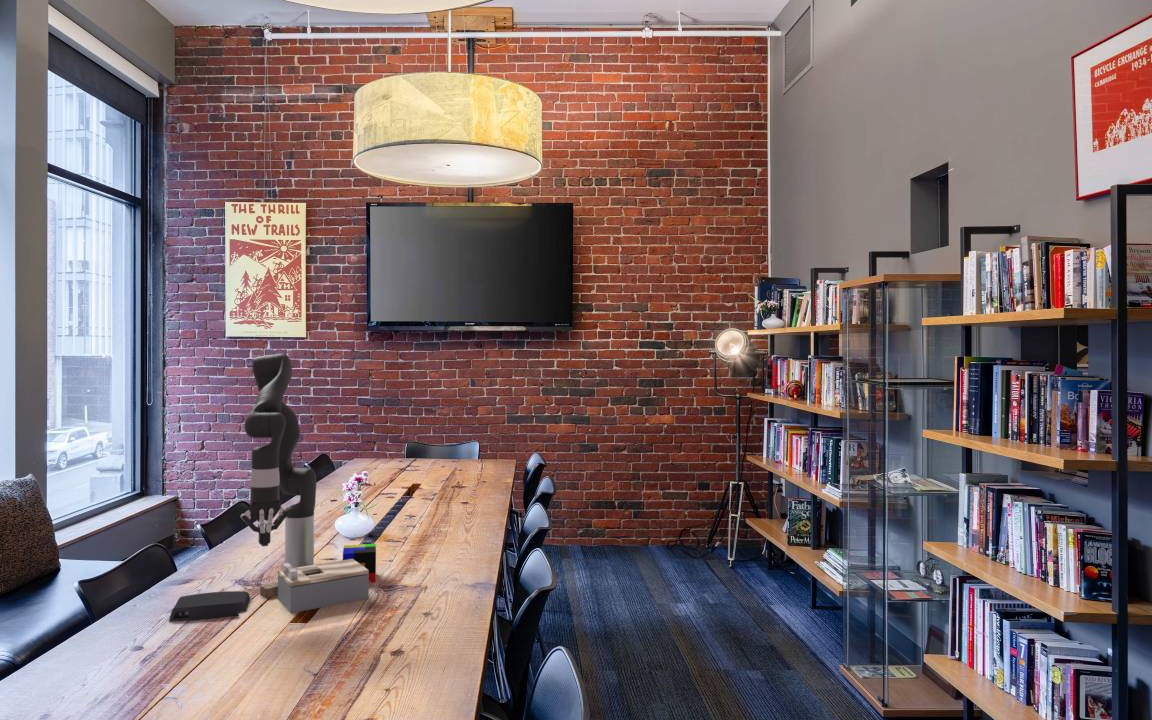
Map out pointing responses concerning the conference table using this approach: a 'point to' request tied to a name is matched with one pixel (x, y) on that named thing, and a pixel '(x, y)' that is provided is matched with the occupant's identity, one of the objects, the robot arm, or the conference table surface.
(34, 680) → the conference table surface
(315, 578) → the lid
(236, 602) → the external hard drive
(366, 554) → the puzzle toy
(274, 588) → the brown block
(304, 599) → the toolbox
